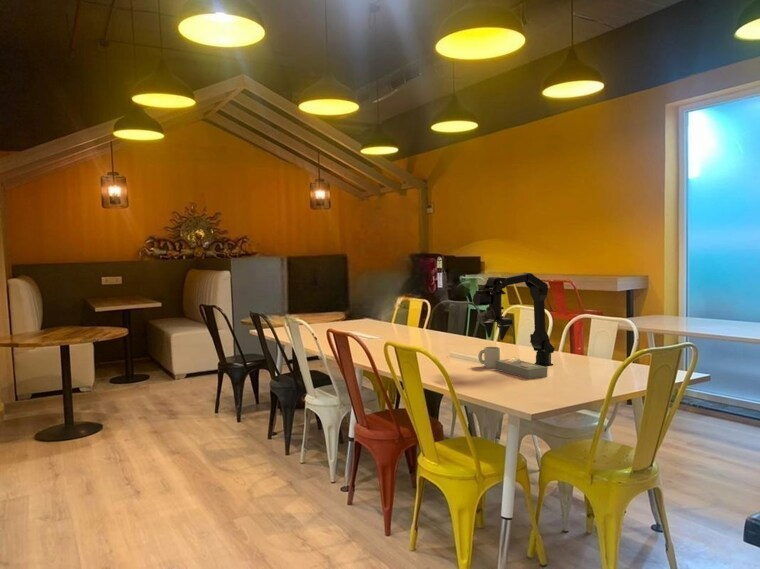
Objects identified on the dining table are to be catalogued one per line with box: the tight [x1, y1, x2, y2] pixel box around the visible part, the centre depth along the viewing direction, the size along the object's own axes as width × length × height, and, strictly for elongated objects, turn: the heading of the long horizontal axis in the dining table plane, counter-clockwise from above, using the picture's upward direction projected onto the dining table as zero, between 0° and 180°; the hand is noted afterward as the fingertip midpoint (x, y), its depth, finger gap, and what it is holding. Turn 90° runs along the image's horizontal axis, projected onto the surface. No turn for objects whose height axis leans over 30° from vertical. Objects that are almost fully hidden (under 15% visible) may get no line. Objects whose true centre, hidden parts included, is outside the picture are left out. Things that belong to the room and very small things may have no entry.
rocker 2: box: [521, 363, 537, 368], centre depth 246 cm, size 6×4×1 cm, turn 115°
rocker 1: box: [505, 357, 521, 363], centre depth 256 cm, size 6×4×1 cm, turn 115°
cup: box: [478, 346, 501, 369], centre depth 266 cm, size 7×10×9 cm
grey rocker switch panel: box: [495, 358, 548, 380], centre depth 251 cm, size 10×23×4 cm, turn 25°
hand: (495, 338), depth 255 cm, fingers open, 9 cm apart
